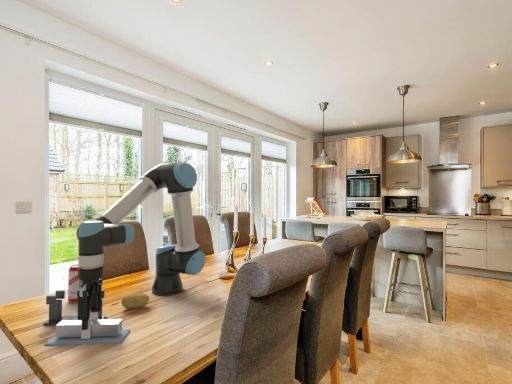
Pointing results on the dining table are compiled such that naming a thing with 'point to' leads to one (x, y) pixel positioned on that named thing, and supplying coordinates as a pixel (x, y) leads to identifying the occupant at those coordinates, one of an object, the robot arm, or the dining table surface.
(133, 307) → the potato
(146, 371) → the dining table surface
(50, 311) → the standards
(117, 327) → the rail
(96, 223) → the robot arm
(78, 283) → the beer can
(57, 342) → the mat
